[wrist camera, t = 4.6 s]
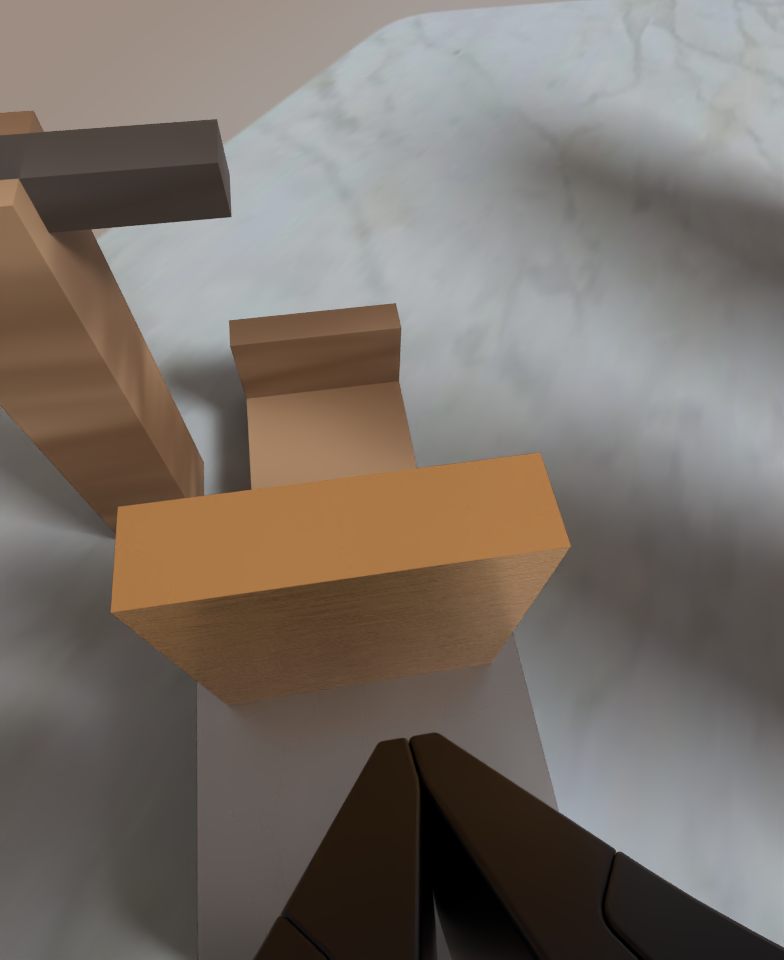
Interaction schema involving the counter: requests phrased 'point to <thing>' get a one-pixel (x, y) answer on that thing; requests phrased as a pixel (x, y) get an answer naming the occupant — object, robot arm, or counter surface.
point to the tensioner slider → (336, 650)
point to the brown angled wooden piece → (123, 351)
